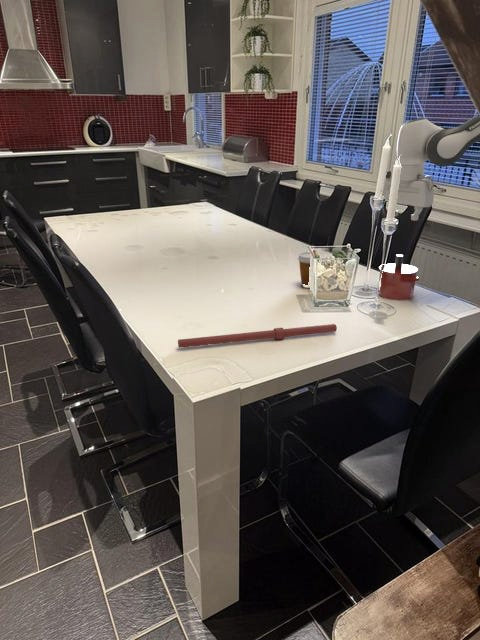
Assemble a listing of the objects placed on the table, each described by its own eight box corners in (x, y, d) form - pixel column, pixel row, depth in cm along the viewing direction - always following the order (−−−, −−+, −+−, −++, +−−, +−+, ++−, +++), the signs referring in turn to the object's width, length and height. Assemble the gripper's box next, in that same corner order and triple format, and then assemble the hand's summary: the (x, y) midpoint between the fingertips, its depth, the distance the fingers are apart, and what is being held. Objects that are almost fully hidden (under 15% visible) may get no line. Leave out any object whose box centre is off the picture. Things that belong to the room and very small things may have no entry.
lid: (398, 265, 168) (400, 249, 165) (425, 273, 157) (427, 257, 155) (371, 269, 163) (372, 253, 160) (396, 278, 152) (398, 261, 150)
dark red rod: (333, 330, 136) (333, 320, 134) (337, 334, 133) (338, 324, 132) (178, 346, 127) (177, 336, 126) (179, 351, 124) (178, 340, 123)
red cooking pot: (392, 287, 172) (394, 262, 169) (426, 300, 158) (430, 273, 154) (366, 291, 168) (368, 266, 165) (399, 306, 154) (402, 278, 150)
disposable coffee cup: (298, 290, 172) (299, 258, 167) (296, 282, 181) (296, 252, 176) (324, 289, 172) (326, 257, 167) (320, 282, 180) (322, 251, 176)
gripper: (441, 175, 140) (435, 222, 145) (394, 172, 158) (390, 213, 163) (425, 176, 138) (419, 223, 143) (379, 172, 155) (376, 214, 161)
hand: (403, 218), depth 153 cm, fingers open, 8 cm apart
